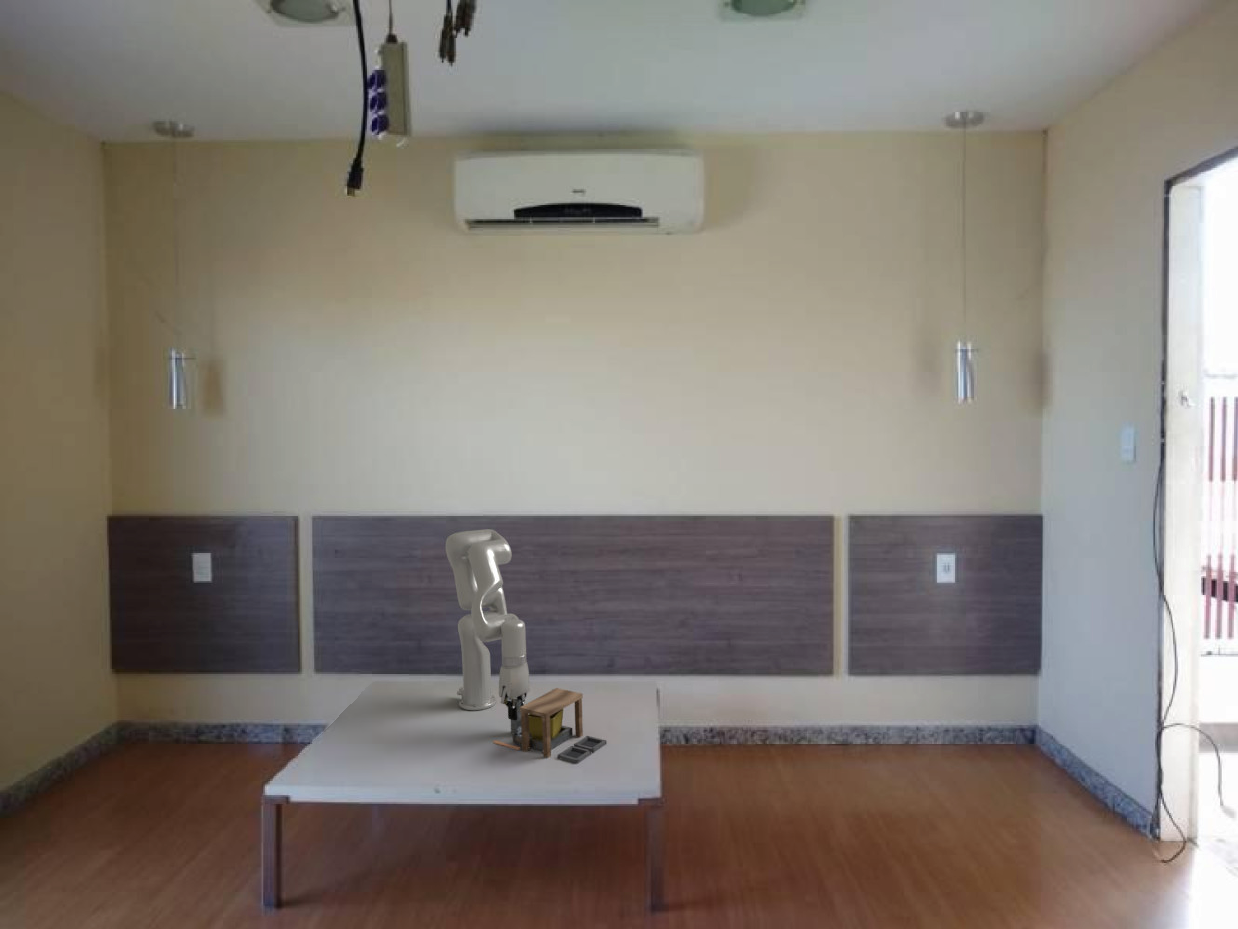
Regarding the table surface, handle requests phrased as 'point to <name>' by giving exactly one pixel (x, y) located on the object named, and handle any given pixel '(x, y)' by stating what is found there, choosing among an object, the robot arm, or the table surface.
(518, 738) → the grey tray with upright
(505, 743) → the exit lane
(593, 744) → the frames
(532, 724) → the flower pot
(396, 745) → the table surface
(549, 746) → the small wooden table
